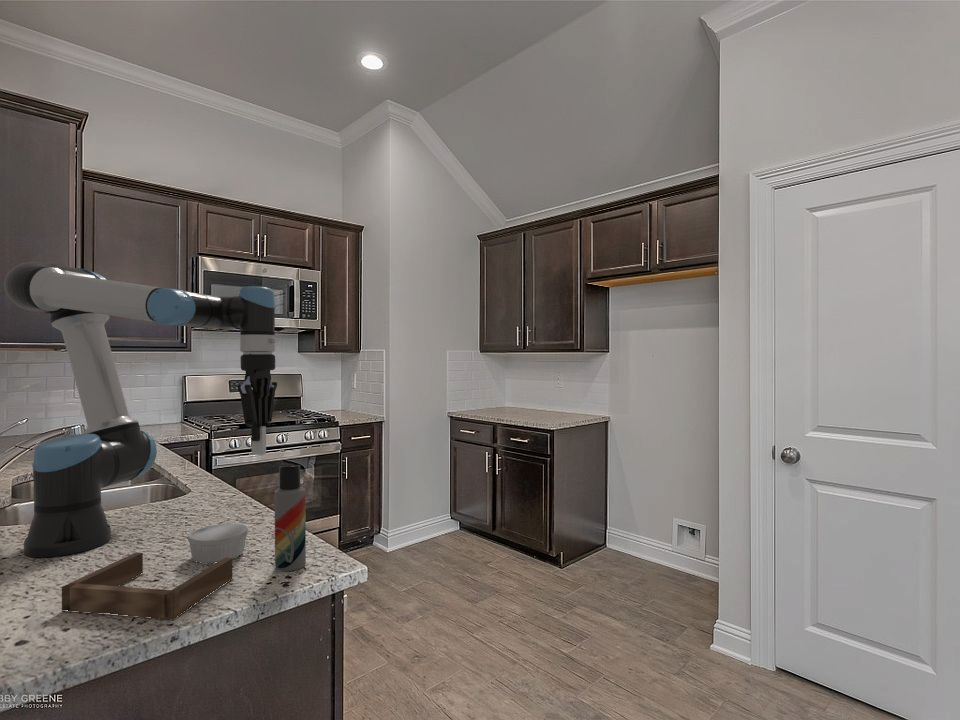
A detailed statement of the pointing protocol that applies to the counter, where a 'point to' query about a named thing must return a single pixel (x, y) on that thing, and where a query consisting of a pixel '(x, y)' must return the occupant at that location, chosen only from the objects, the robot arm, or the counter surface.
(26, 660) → the counter surface
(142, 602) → the walnut box
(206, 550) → the ramekin
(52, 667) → the counter surface
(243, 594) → the counter surface
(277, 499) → the lotion bottle
